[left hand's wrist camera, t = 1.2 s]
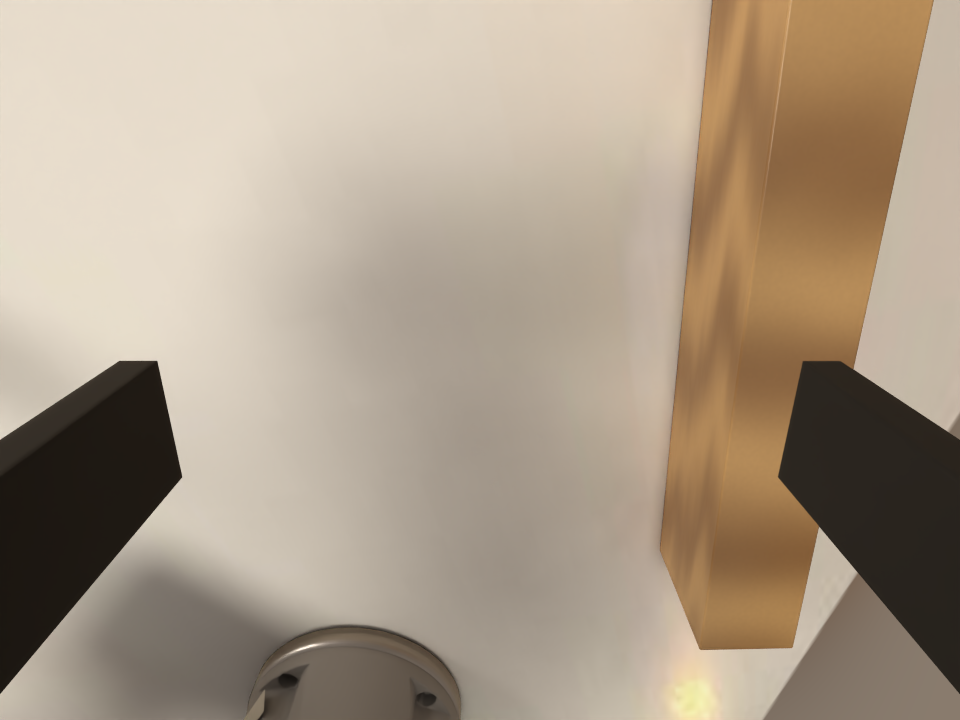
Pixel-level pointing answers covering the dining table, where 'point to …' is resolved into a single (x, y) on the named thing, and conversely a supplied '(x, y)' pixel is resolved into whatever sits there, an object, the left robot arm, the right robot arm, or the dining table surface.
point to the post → (775, 284)
